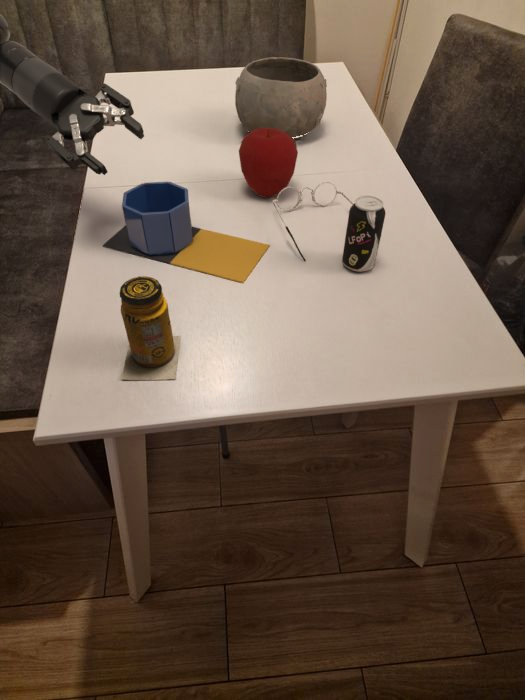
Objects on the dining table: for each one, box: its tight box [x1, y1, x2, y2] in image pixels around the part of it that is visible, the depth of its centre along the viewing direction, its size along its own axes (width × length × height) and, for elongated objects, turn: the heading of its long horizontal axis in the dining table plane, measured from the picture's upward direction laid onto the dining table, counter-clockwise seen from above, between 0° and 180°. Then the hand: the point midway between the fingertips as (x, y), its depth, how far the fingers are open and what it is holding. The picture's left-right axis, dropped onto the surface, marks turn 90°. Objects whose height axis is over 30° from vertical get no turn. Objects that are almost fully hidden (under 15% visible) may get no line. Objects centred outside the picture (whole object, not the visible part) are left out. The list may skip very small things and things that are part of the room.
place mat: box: [102, 224, 271, 284], centre depth 88 cm, size 28×12×1 cm, turn 68°
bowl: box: [234, 56, 328, 141], centre depth 120 cm, size 23×23×15 cm
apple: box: [238, 128, 299, 198], centre depth 98 cm, size 12×12×13 cm
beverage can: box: [341, 195, 386, 273], centre depth 81 cm, size 6×6×12 cm
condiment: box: [119, 275, 181, 381], centre depth 64 cm, size 7×8×12 cm
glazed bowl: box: [121, 181, 193, 255], centre depth 87 cm, size 11×11×8 cm
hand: (123, 152), depth 77 cm, fingers open, 8 cm apart
